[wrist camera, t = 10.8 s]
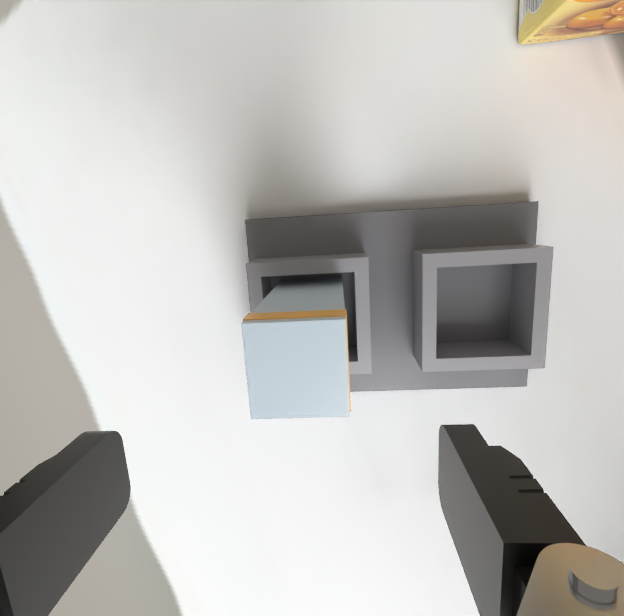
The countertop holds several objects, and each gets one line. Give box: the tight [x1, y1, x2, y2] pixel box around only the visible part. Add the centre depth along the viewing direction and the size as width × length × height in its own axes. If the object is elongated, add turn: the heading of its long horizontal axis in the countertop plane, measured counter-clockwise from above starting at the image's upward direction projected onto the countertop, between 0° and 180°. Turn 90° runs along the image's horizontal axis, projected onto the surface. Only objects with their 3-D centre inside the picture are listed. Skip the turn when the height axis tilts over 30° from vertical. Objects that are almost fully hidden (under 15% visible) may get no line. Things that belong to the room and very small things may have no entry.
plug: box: [241, 277, 351, 419], centre depth 21 cm, size 4×4×11 cm
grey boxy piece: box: [245, 201, 553, 392], centre depth 25 cm, size 18×12×4 cm, turn 94°
